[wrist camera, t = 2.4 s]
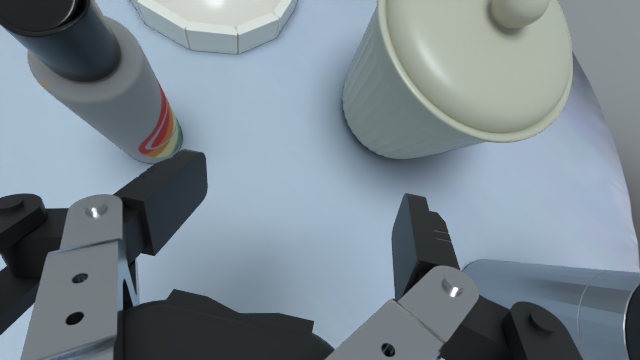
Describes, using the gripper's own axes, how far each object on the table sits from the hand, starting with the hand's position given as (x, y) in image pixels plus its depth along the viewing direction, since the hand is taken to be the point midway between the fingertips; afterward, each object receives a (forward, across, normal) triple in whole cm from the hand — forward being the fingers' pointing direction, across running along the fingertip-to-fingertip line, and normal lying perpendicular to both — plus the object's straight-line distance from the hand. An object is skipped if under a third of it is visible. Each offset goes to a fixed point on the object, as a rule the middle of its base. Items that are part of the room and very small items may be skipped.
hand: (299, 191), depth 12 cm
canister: (+30, -6, +5) cm, 30 cm away
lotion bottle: (+16, +18, +8) cm, 26 cm away
